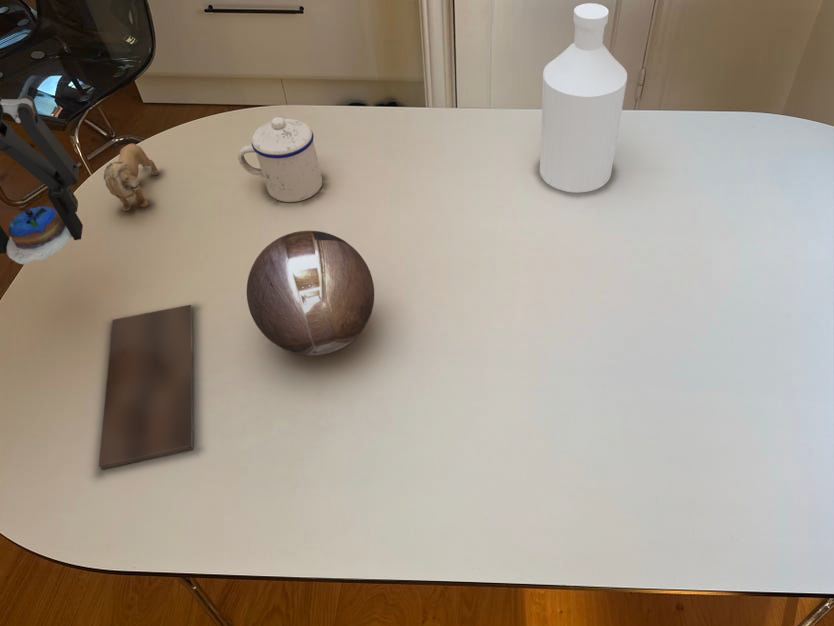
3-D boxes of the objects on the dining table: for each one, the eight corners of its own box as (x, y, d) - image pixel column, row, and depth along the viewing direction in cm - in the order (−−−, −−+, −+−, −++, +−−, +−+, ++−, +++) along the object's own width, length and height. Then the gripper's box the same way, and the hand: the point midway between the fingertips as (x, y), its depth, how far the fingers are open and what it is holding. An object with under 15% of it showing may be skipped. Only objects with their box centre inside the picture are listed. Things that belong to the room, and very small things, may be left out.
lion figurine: (155, 220, 107) (131, 170, 100) (119, 226, 106) (92, 176, 99) (160, 164, 116) (139, 115, 109) (127, 169, 115) (103, 120, 108)
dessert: (57, 205, 88) (46, 186, 82) (91, 247, 88) (82, 232, 83) (-5, 238, 85) (-21, 222, 79) (30, 282, 85) (17, 269, 80)
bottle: (527, 183, 110) (533, 23, 91) (552, 142, 117) (562, -15, 98) (600, 200, 107) (622, 38, 88) (621, 158, 114) (646, -1, 95)
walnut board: (101, 469, 79) (98, 466, 78) (115, 323, 93) (112, 319, 92) (193, 449, 80) (191, 445, 80) (192, 308, 95) (190, 304, 94)
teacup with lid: (327, 168, 114) (313, 102, 105) (320, 203, 108) (303, 137, 99) (254, 169, 114) (233, 104, 105) (242, 205, 108) (219, 138, 99)
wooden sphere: (293, 399, 85) (261, 314, 73) (247, 323, 93) (211, 235, 81) (402, 345, 90) (388, 257, 78) (349, 278, 98) (329, 189, 86)
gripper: (-213, 92, 63) (-58, 277, 81) (31, 57, 66) (129, 242, 84) (-187, 52, 68) (-45, 235, 85) (41, 22, 71) (132, 204, 88)
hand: (41, 239), depth 85 cm, fingers closed on dessert, 8 cm apart
